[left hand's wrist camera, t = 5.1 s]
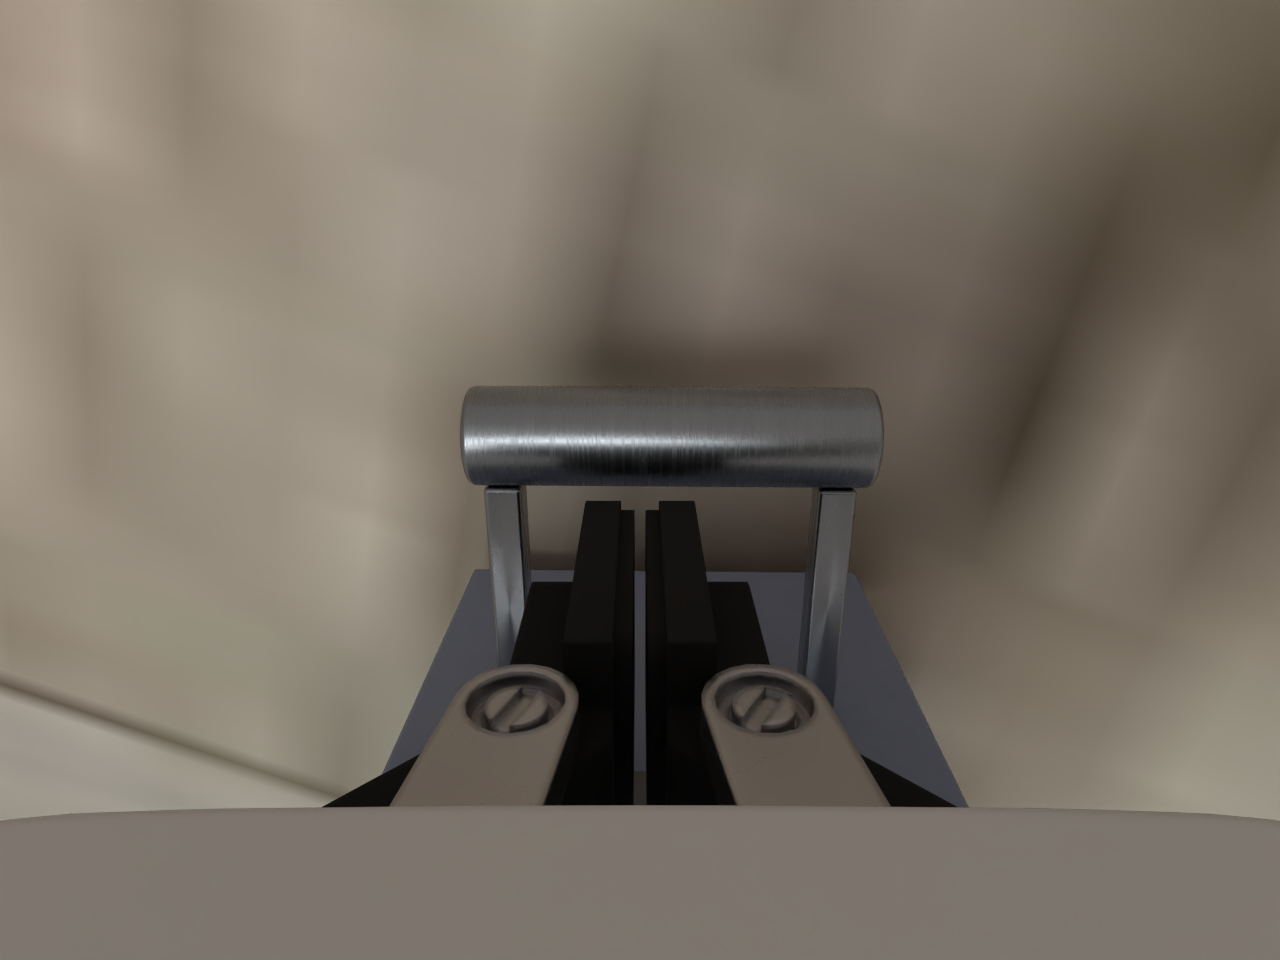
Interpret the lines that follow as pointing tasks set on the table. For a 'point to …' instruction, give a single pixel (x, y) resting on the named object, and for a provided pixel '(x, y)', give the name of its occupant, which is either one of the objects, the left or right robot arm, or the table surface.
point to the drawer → (784, 601)
